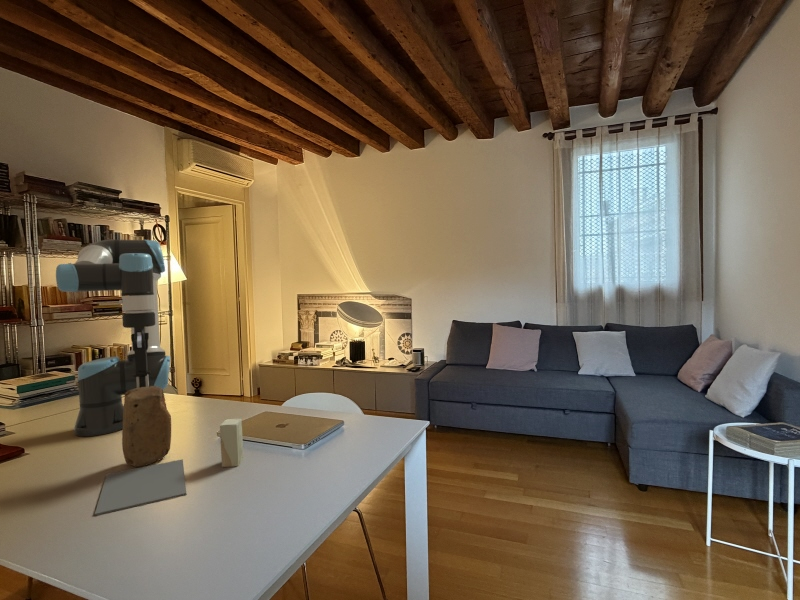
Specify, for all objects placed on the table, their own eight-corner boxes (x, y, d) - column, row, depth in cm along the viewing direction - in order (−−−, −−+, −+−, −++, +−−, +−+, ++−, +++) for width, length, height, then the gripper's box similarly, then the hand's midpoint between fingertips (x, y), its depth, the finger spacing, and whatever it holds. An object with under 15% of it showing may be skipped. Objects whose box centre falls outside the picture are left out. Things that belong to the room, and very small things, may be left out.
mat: (107, 475, 110) (106, 474, 110) (182, 460, 118) (182, 459, 118) (94, 515, 90) (94, 513, 90) (186, 494, 98) (186, 493, 98)
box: (227, 459, 118) (225, 418, 117) (244, 458, 118) (242, 417, 118) (221, 467, 113) (219, 425, 112) (238, 466, 113) (236, 424, 112)
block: (125, 471, 112) (125, 400, 107) (121, 455, 117) (120, 387, 113) (172, 460, 119) (174, 392, 114) (166, 445, 124) (167, 380, 120)
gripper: (124, 311, 121) (128, 396, 122) (119, 313, 109) (125, 407, 110) (155, 310, 124) (159, 392, 125) (154, 312, 113) (159, 403, 114)
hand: (143, 399), depth 118 cm, fingers closed
